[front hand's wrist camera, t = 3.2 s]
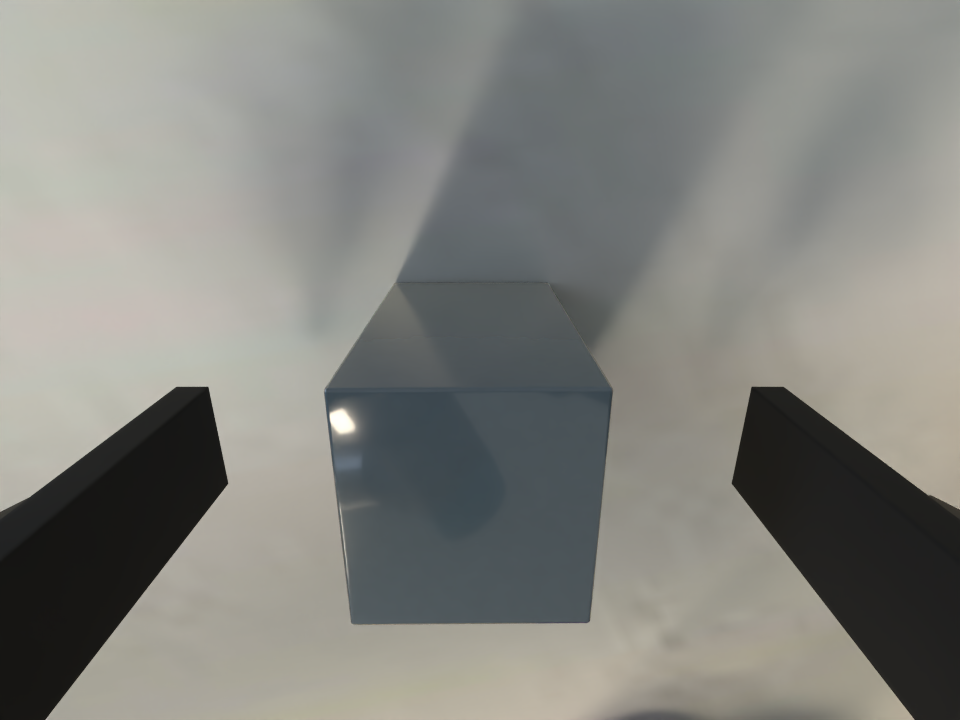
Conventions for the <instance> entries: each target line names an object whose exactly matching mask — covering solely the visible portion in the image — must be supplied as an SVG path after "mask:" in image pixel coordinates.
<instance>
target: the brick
mask: <svg viewBox="0 0 960 720" xmlns="http://www.w3.org/2000/svg"><path fill="white" fill-rule="evenodd" d="M324 396H325V405H326V413H327V422H328V430H329V439H330V447H331V456H332V464H333V473H334V481H335V490H336V498H337V507H338V515H339V524H340V532H341V541H342V549H343V558H344V566H345V575H346V583H347V592H348V600H349V609H350V618H351V623H352V624H353V625H396V624H516V623H588V622H589V621H590V616H591V606H592V596H593V586H594V576H595V566H596V556H597V546H598V536H599V526H600V516H601V506H602V496H603V486H604V476H605V466H606V456H607V446H608V436H609V426H610V416H611V406H612V396H613V388H612V386H611V385H610V383H609V381H608V380H607V378H606V377H605V375H604V373H603V372H602V370H601V368H600V367H599V365H598V363H597V362H596V360H595V359H594V357H593V355H592V354H591V352H590V350H589V349H588V347H587V345H586V344H585V342H584V341H583V339H582V337H581V336H580V334H579V332H578V331H577V329H576V327H575V326H574V324H573V323H572V321H571V319H570V318H569V316H568V314H567V313H566V311H565V309H564V308H563V306H562V305H561V303H560V301H559V300H558V298H557V296H556V295H555V293H554V291H553V290H552V288H551V287H550V285H549V283H394V285H393V286H392V288H391V289H390V291H389V292H388V294H387V295H386V297H385V298H384V300H383V301H382V303H381V304H380V306H379V307H378V309H377V310H376V312H375V313H374V315H373V316H372V318H371V319H370V321H369V322H368V324H367V326H366V327H365V329H364V330H363V332H362V333H361V335H360V336H359V338H358V339H357V341H356V342H355V344H354V345H353V347H352V348H351V350H350V351H349V353H348V354H347V356H346V357H345V359H344V360H343V362H342V363H341V365H340V366H339V368H338V369H337V371H336V372H335V374H334V375H333V377H332V379H331V380H330V382H329V383H328V385H327V386H326V388H325V390H324Z"/></svg>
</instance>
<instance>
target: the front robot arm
mask: <svg viewBox="0 0 960 720" xmlns="http://www.w3.org/2000/svg"><path fill="white" fill-rule="evenodd" d="M227 485H228V480H227V475H226V470H225V465H224V460H223V456H222V451H221V446H220V441H219V436H218V431H217V427H216V422H215V417H214V412H213V407H212V403H211V398H210V393H209V388H208V387H176V388H174V389H173V390H172V391H170V392H169V393H168V394H166V395H165V396H164V397H162V398H161V399H160V400H158V401H157V402H156V403H154V404H153V405H152V406H150V407H149V408H148V409H146V410H145V411H144V412H143V413H141V414H140V415H139V416H137V417H136V418H135V419H133V420H132V421H131V422H129V423H128V424H127V425H125V426H124V427H123V428H121V429H120V430H119V431H117V432H116V433H115V434H113V435H112V436H111V437H109V438H108V439H107V440H105V441H104V442H103V443H101V444H100V445H99V446H97V447H96V448H95V449H93V450H92V451H91V452H89V453H88V454H87V455H85V456H84V457H83V458H81V459H80V460H79V461H77V462H76V463H75V464H73V465H72V466H71V467H69V468H68V469H67V470H65V471H64V472H63V473H61V474H60V475H59V476H57V477H56V478H55V479H53V480H52V481H51V482H49V483H48V484H47V485H45V486H44V487H43V488H41V489H40V490H39V491H37V492H36V493H35V494H33V495H32V496H31V497H29V498H27V499H25V500H23V501H21V502H19V503H17V504H15V505H13V506H11V507H9V508H7V509H5V510H3V511H1V512H0V720H45V719H46V718H47V717H48V715H49V714H50V713H51V712H52V710H53V709H54V708H55V706H56V705H57V704H58V703H59V701H60V700H61V699H62V697H63V696H64V695H65V694H66V692H67V691H68V690H69V688H70V687H71V686H72V684H73V683H74V682H75V681H76V679H77V678H78V677H79V675H80V674H81V673H82V672H83V670H84V669H85V668H86V666H87V665H88V664H89V663H90V661H91V660H92V659H93V657H94V656H95V655H96V654H97V652H98V651H99V650H100V648H101V647H102V646H103V644H104V643H105V642H106V641H107V639H108V638H109V637H110V635H111V634H112V633H113V632H114V630H115V629H116V628H117V626H118V625H119V624H120V623H121V621H122V620H123V619H124V617H125V616H126V615H127V614H128V612H129V611H130V610H131V608H132V607H133V606H134V605H135V603H136V602H137V601H138V599H139V598H140V597H141V595H142V594H143V593H144V592H145V590H146V589H147V588H148V586H149V585H150V584H151V583H152V581H153V580H154V579H155V577H156V576H157V575H158V574H159V572H160V571H161V570H162V568H163V567H164V566H165V565H166V563H167V562H168V561H169V559H170V558H171V557H172V555H173V554H174V553H175V552H176V550H177V549H178V548H179V546H180V545H181V544H182V543H183V541H184V540H185V539H186V537H187V536H188V535H189V534H190V532H191V531H192V530H193V528H194V527H195V526H196V525H197V523H198V522H199V521H200V519H201V518H202V517H203V515H204V514H205V513H206V512H207V510H208V509H209V508H210V506H211V505H212V504H213V503H214V501H215V500H216V499H217V497H218V496H219V495H220V494H221V492H222V491H223V490H224V488H225V487H226V486H227ZM732 485H733V486H734V487H735V488H736V490H737V491H738V492H739V494H740V495H741V496H742V497H743V499H744V500H745V501H746V503H747V504H748V505H749V506H750V508H751V509H752V510H753V512H754V513H755V514H756V515H757V517H758V518H759V519H760V521H761V522H762V523H763V525H764V526H765V527H766V528H767V530H768V531H769V532H770V534H771V535H772V536H773V537H774V539H775V540H776V541H777V543H778V544H779V545H780V546H781V548H782V549H783V550H784V552H785V553H786V554H787V555H788V557H789V558H790V559H791V561H792V562H793V563H794V565H795V566H796V567H797V568H798V570H799V571H800V572H801V574H802V575H803V576H804V577H805V579H806V580H807V581H808V583H809V584H810V585H811V586H812V588H813V589H814V590H815V592H816V593H817V594H818V595H819V597H820V598H821V599H822V601H823V602H824V603H825V605H826V606H827V607H828V608H829V610H830V611H831V612H832V614H833V615H834V616H835V617H836V619H837V620H838V621H839V623H840V624H841V625H842V626H843V628H844V629H845V630H846V632H847V633H848V634H849V635H850V637H851V638H852V639H853V641H854V642H855V643H856V644H857V646H858V647H859V648H860V650H861V651H862V652H863V654H864V655H865V656H866V657H867V659H868V660H869V661H870V663H871V664H872V665H873V666H874V668H875V669H876V670H877V672H878V673H879V674H880V675H881V677H882V678H883V679H884V681H885V682H886V683H887V684H888V686H889V687H890V688H891V690H892V691H893V692H894V694H895V695H896V696H897V697H898V699H899V700H900V701H901V703H902V704H903V705H904V706H905V708H906V709H907V710H908V712H909V713H910V714H911V715H912V717H913V718H914V719H915V720H960V510H959V509H957V508H955V507H953V506H951V505H949V504H947V503H945V502H943V501H941V500H939V499H937V498H935V497H933V496H928V495H927V494H925V493H924V492H923V491H921V490H920V489H919V488H917V487H916V486H915V485H913V484H912V483H911V482H909V481H908V480H907V479H905V478H904V477H903V476H901V475H900V474H899V473H897V472H896V471H895V470H893V469H892V468H891V467H889V466H888V465H887V464H885V463H884V462H883V461H881V460H880V459H879V458H877V457H876V456H875V455H873V454H872V453H871V452H869V451H868V450H867V449H865V448H864V447H863V446H861V445H860V444H859V443H857V442H856V441H855V440H853V439H852V438H851V437H849V436H848V435H847V434H845V433H844V432H843V431H841V430H840V429H839V428H837V427H836V426H835V425H833V424H832V423H831V422H829V421H828V420H827V419H825V418H824V417H823V416H821V415H820V414H819V413H817V412H816V411H815V410H814V409H812V408H811V407H810V406H808V405H807V404H806V403H804V402H803V401H802V400H800V399H799V398H798V397H796V396H795V395H794V394H792V393H791V392H790V391H788V390H787V389H786V388H784V387H752V388H751V393H750V398H749V403H748V407H747V412H746V417H745V422H744V427H743V431H742V436H741V441H740V446H739V451H738V456H737V460H736V465H735V470H734V475H733V480H732Z"/></svg>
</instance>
